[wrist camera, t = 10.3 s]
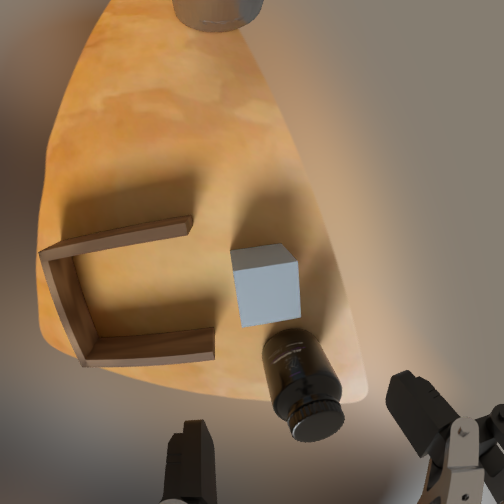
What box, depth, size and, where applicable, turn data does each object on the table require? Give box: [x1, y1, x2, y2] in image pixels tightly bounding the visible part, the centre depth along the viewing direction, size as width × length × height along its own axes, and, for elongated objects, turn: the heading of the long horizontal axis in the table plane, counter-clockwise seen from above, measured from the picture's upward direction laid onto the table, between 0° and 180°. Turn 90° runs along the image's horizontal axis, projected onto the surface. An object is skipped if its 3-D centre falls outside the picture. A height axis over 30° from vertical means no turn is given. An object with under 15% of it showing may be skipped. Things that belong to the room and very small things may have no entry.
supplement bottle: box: [262, 329, 345, 442], centre depth 24 cm, size 7×7×12 cm
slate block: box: [230, 243, 301, 327], centre depth 24 cm, size 5×5×6 cm
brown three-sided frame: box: [38, 215, 215, 367], centre depth 24 cm, size 13×15×4 cm
